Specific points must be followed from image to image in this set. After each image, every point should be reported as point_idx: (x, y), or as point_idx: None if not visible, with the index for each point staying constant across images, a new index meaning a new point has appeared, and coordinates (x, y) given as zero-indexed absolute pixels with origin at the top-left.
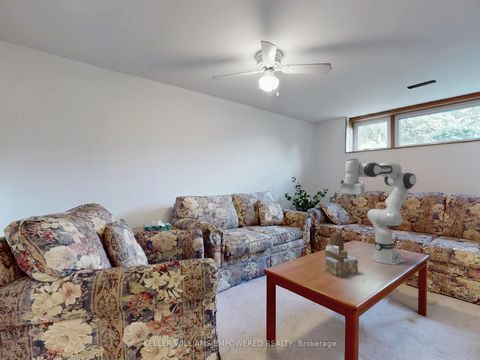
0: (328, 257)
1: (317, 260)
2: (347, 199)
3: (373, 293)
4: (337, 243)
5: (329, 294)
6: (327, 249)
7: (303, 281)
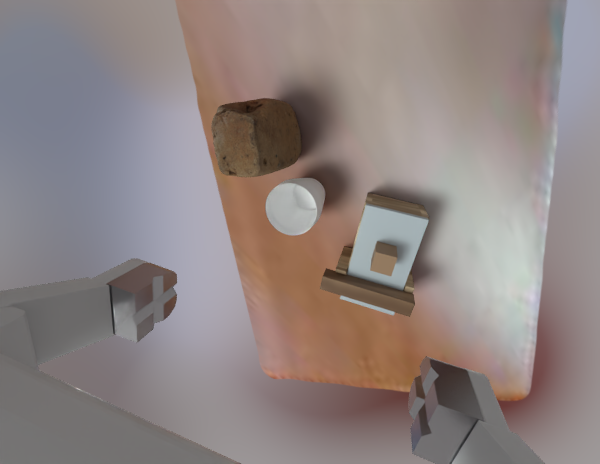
0: None
1: None
2: (165, 294)
3: (538, 311)
4: (278, 163)
5: None
6: (289, 231)
7: (363, 372)
